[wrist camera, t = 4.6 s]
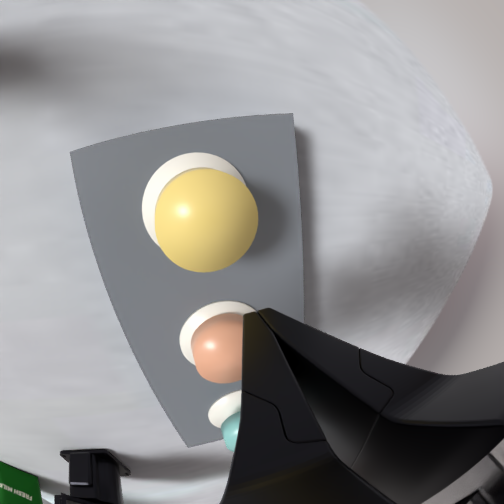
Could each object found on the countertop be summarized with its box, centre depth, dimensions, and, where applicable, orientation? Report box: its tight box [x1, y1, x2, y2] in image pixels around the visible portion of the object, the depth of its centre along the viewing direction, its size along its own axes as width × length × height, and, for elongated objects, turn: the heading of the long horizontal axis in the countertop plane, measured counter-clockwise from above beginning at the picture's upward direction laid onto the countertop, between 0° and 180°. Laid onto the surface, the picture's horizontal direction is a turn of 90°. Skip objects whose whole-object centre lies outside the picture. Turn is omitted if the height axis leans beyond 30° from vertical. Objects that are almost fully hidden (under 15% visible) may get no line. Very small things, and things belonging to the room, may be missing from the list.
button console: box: [70, 113, 304, 448], centre depth 17 cm, size 24×11×3 cm, turn 7°
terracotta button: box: [191, 313, 243, 383], centre depth 15 cm, size 4×4×2 cm
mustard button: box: [155, 167, 258, 273], centre depth 11 cm, size 4×4×2 cm
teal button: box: [221, 411, 240, 452], centre depth 18 cm, size 4×4×2 cm
